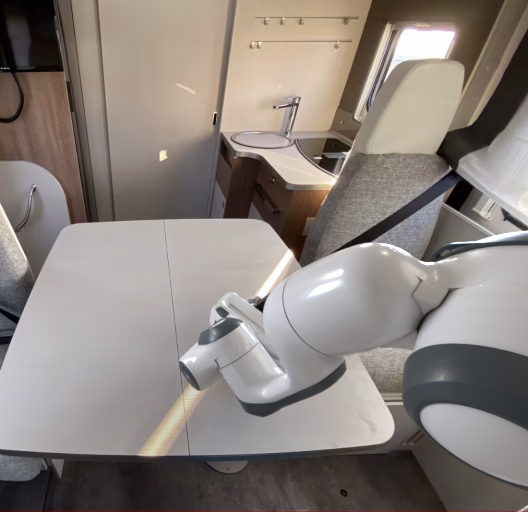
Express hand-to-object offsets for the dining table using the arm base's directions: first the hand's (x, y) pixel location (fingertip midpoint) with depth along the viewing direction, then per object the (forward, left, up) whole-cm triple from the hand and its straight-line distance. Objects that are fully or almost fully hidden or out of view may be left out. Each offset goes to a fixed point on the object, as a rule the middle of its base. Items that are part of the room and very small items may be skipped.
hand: (274, 309), depth 77 cm
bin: (0, -4, -11) cm, 11 cm away
